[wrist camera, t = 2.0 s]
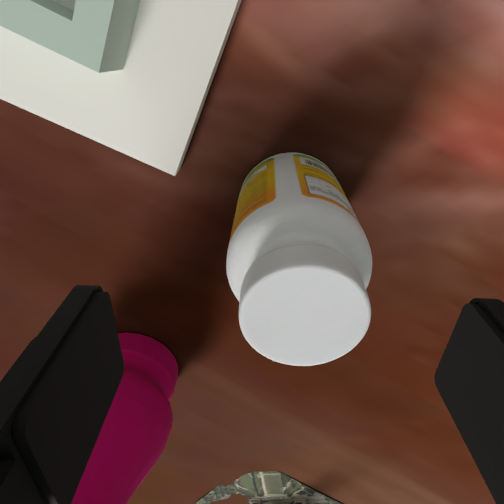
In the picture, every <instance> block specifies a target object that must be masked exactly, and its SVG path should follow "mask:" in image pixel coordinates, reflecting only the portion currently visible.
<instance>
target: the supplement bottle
mask: <svg viewBox="0 0 504 504" xmlns="http://www.w3.org/2000/svg"><path fill="white" fill-rule="evenodd" d="M226 271H227V277H228V281H229V284H230V287H231V289H232V291H233V293H234V295H235V296H236V298H237V300H238V301H239V302H240V303H239V323H240V327H241V330H242V333H243V335H244V337H245V339H246V340H247V341H248V343H249V344H250V345H251V346H252V347H253V348H254V349H255V350H256V351H257V352H259V353H260V354H262V355H263V356H265V357H267V358H269V359H271V360H273V361H276V362H279V363H283V364H288V365H294V366H311V365H318V364H323V363H327V362H329V361H332V360H335V359H337V358H339V357H341V356H343V355H345V354H346V353H348V352H349V351H350V350H352V349H353V348H354V347H355V346H356V345H357V344H358V343H359V342H360V341H361V339H362V338H363V336H364V335H365V333H366V331H367V329H368V327H369V324H370V319H371V305H370V301H369V297H368V295H367V292H366V288H367V286H368V284H369V281H370V277H371V273H372V255H371V250H370V246H369V243H368V240H367V238H366V235H365V233H364V231H363V229H362V227H361V225H360V223H359V221H358V219H357V217H356V215H355V213H354V211H353V209H352V207H351V205H350V203H349V201H348V199H347V197H346V195H345V194H344V192H343V190H342V188H341V186H340V184H339V182H338V180H337V179H336V177H335V175H334V174H333V173H332V171H331V170H330V169H329V168H328V167H327V166H326V165H325V164H324V163H323V162H321V161H320V160H318V159H316V158H314V157H312V156H309V155H306V154H302V153H293V152H290V153H281V154H277V155H274V156H271V157H269V158H267V159H265V160H264V161H262V162H261V163H259V164H258V165H257V166H256V167H254V168H253V169H252V171H251V172H250V173H249V174H248V175H247V177H246V179H245V180H244V182H243V185H242V187H241V190H240V194H239V198H238V202H237V208H236V213H235V218H234V222H233V227H232V232H231V236H230V241H229V246H228V251H227V261H226Z"/></svg>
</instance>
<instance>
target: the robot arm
mask: <svg viewBox="0 0 504 504" xmlns="http://www.w3.org/2000/svg"><path fill="white" fill-rule="evenodd" d="M123 373H124V360H123V355H122V351H121V346H120V342H119V337H118V332H117V328H116V323H115V319H114V314H113V309H112V305H111V300H110V296H109V293H108V292H103V290H102V288H101V287H100V286H89V285H77V286H75V287H74V288H73V289H72V291H71V292H70V293H69V295H68V296H67V297H66V299H65V300H64V301H63V302H62V304H61V305H60V306H59V308H58V309H57V310H56V312H55V313H54V314H53V316H52V317H51V318H50V320H49V321H48V322H47V324H46V325H45V326H44V328H43V329H42V330H41V332H40V333H39V334H38V336H37V337H35V338H34V339H33V340H32V341H31V342H30V343H29V345H28V346H27V347H26V349H25V350H24V351H23V353H22V354H21V355H20V357H19V358H18V359H17V361H16V362H15V363H14V365H13V366H12V367H11V368H10V370H9V371H8V372H7V374H6V375H5V376H4V378H3V379H2V380H1V382H0V504H71V503H72V500H73V498H74V495H75V493H76V490H77V488H78V485H79V483H80V481H81V478H82V476H83V473H84V471H85V468H86V466H87V463H88V461H89V458H90V456H91V453H92V451H93V448H94V446H95V444H96V441H97V439H98V436H99V434H100V431H101V429H102V426H103V424H104V421H105V419H106V416H107V414H108V411H109V409H110V407H111V404H112V402H113V399H114V397H115V394H116V392H117V389H118V387H119V384H120V382H121V379H122V377H123ZM435 384H436V387H437V389H438V391H439V393H440V395H441V397H442V399H443V401H444V403H445V405H446V407H447V408H448V410H449V412H450V414H451V416H452V418H453V420H454V422H455V424H456V426H457V428H458V430H459V432H460V434H461V436H462V438H463V440H464V442H465V443H466V445H467V447H468V449H469V451H470V453H471V455H472V457H473V459H474V461H475V463H476V465H477V467H478V469H479V471H480V473H481V475H482V477H483V478H484V480H485V482H486V484H487V486H488V488H489V490H490V492H491V494H492V496H493V498H494V500H495V502H496V504H504V303H503V302H502V301H501V300H499V299H483V298H475V299H472V300H471V301H470V303H469V304H465V305H464V307H463V309H462V311H461V313H460V316H459V318H458V320H457V323H456V325H455V328H454V330H453V332H452V335H451V337H450V339H449V342H448V344H447V347H446V349H445V351H444V354H443V356H442V358H441V361H440V363H439V366H438V368H437V370H436V373H435Z"/></svg>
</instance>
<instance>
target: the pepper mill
mask: <svg viewBox="0 0 504 504" xmlns="http://www.w3.org/2000/svg"><path fill="white" fill-rule="evenodd" d="M118 337H119V342H120V346H121V351H122V355H123V360H124V373H123V377H122V379H121V382H120V384H119V387H118V389H117V392H116V394H115V397H114V399H113V402H112V404H111V407H110V409H109V411H108V414H107V416H106V419H105V421H104V424H103V426H102V429H101V431H100V434H99V436H98V439H97V441H96V444H95V446H94V448H93V451H92V453H91V456H90V458H89V461H88V463H87V466H86V468H85V471H84V473H83V476H82V478H81V481H80V483H79V485H78V488H77V490H76V493H75V495H74V498H73V500H72V503H71V504H127V502H128V501H129V499H130V498H131V496H132V495H133V493H134V492H135V490H136V489H137V488H138V486H139V485H140V484H141V482H142V481H143V480H144V479H145V477H146V476H147V475H148V473H149V472H150V471H151V469H152V468H153V467H154V465H155V463H156V462H157V460H158V458H159V456H160V455H161V453H162V451H163V449H164V447H165V445H166V442H167V439H168V436H169V433H170V431H171V428H172V421H173V417H172V410H171V406H170V402H169V400H170V398H171V397H172V394H173V392H174V388H175V385H176V381H177V378H178V371H179V370H178V364H177V361H176V359H175V357H174V356H173V354H172V353H171V352H170V350H169V349H168V348H167V347H166V346H165V345H163V344H162V343H160V342H158V341H157V340H155V339H153V338H151V337H148V336H145V335H142V334H136V333H128V332H127V333H118Z"/></svg>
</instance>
